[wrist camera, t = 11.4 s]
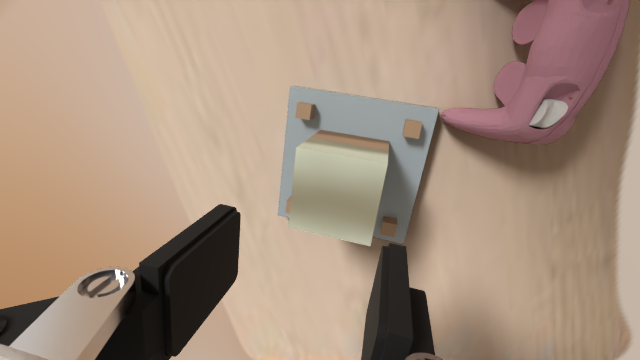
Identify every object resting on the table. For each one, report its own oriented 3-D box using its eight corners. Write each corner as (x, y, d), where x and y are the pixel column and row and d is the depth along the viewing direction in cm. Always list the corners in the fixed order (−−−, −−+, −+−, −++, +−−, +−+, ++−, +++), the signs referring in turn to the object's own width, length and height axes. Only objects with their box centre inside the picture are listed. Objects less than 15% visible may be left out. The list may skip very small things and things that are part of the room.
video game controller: (486, 130, 22) (586, 161, 16) (431, 124, 21) (515, 155, 14) (540, -30, 19) (694, -73, 12) (478, -49, 17) (615, -108, 11)
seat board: (295, 86, 22) (285, 86, 20) (436, 107, 21) (441, 111, 19) (282, 209, 26) (273, 220, 24) (403, 236, 24) (404, 251, 22)
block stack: (320, 129, 22) (296, 147, 16) (389, 141, 21) (387, 164, 15) (312, 192, 23) (288, 227, 18) (375, 204, 23) (370, 246, 17)
